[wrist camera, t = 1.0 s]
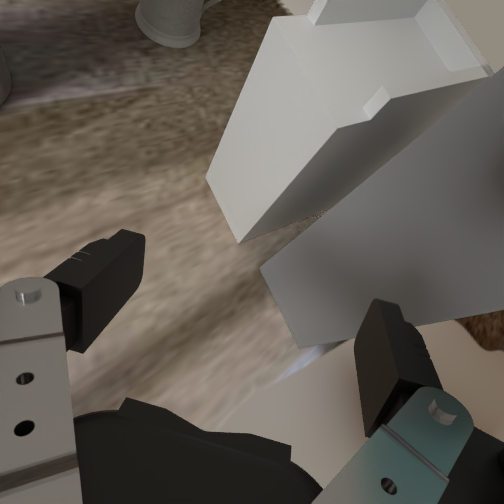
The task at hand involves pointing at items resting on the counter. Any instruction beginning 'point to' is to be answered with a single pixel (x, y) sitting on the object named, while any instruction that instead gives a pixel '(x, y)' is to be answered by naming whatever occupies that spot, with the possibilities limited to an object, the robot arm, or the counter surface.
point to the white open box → (337, 105)
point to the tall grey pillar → (407, 233)
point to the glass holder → (172, 20)
